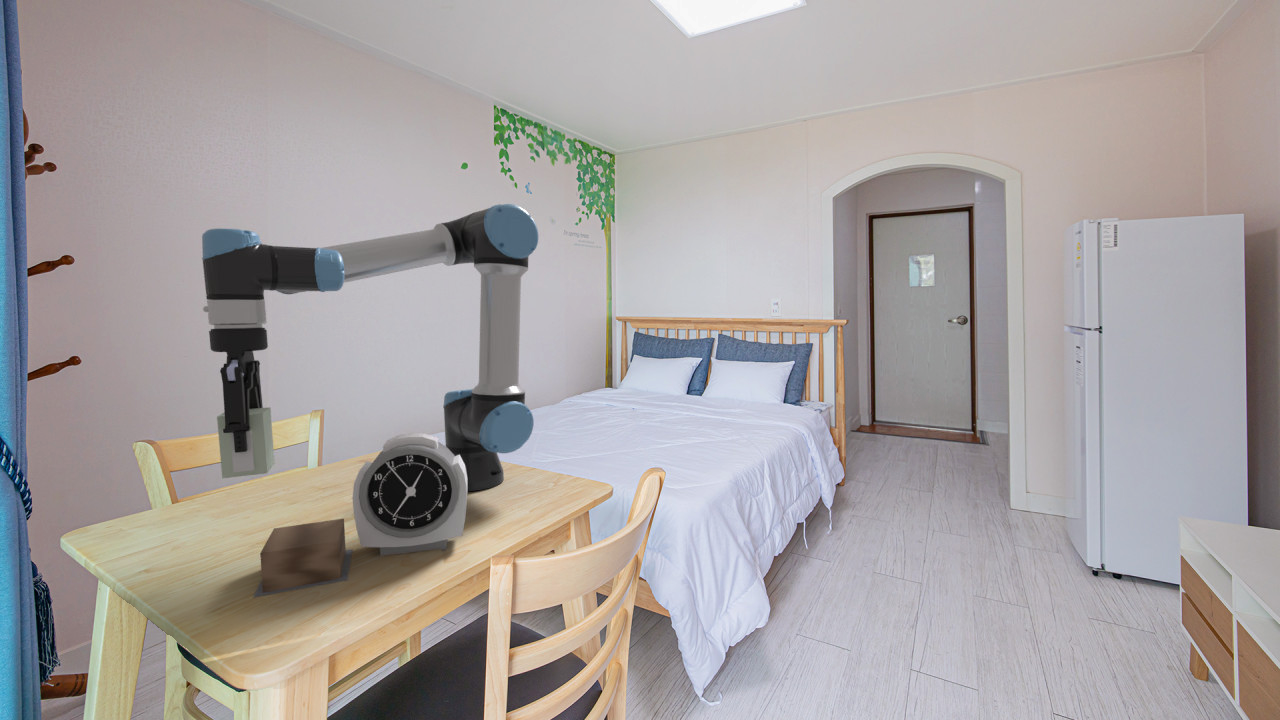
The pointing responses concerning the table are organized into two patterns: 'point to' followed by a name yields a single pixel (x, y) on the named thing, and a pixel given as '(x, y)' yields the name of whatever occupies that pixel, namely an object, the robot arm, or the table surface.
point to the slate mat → (343, 578)
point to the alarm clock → (410, 496)
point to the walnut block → (303, 555)
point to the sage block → (261, 443)
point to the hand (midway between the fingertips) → (249, 465)
